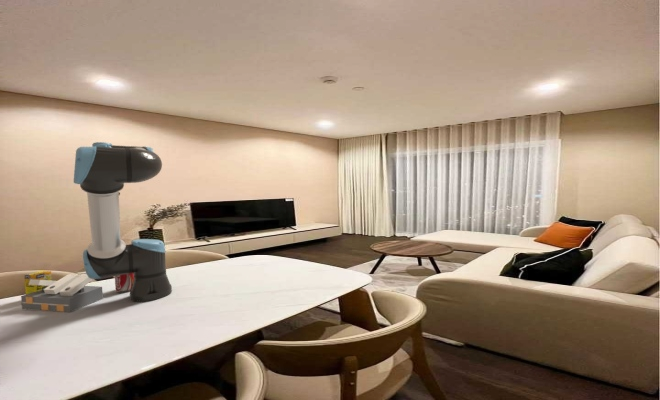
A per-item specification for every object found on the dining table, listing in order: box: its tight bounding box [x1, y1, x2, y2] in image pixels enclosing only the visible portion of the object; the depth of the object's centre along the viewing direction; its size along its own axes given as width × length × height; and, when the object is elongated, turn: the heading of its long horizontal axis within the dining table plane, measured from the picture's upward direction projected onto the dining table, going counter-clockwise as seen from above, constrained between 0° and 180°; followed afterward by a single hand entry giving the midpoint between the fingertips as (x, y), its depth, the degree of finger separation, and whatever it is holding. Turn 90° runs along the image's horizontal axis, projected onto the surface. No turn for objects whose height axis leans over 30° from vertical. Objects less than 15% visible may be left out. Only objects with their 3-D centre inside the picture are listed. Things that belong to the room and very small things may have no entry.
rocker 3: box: [59, 273, 94, 296], centre depth 116 cm, size 5×10×2 cm, turn 170°
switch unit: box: [20, 285, 104, 313], centre depth 118 cm, size 22×13×6 cm, turn 80°
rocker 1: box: [28, 279, 57, 286], centre depth 119 cm, size 5×10×2 cm, turn 170°
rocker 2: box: [43, 273, 80, 294], centre depth 117 cm, size 5×10×2 cm, turn 170°
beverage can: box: [114, 273, 134, 294], centre depth 132 cm, size 8×8×12 cm
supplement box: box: [23, 270, 53, 295], centre depth 123 cm, size 6×6×11 cm
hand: (108, 229), depth 137 cm, fingers closed
